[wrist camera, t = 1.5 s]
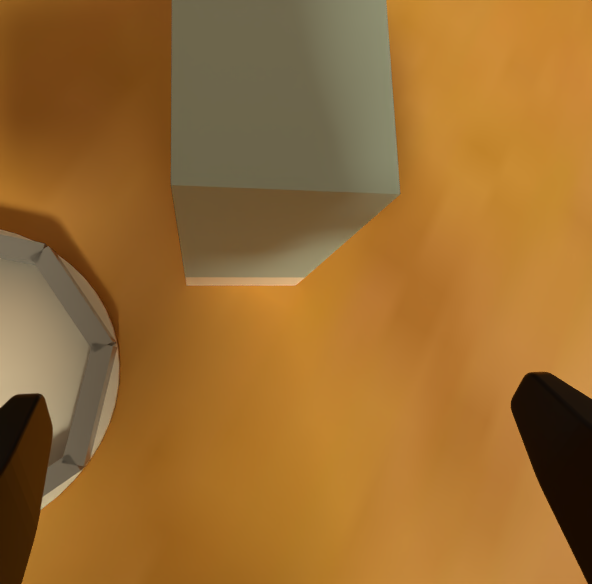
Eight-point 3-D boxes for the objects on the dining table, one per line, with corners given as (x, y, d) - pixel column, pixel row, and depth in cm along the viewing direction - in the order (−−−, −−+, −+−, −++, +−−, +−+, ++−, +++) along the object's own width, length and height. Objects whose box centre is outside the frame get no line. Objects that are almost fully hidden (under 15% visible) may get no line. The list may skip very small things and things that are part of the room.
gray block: (295, 285, 22) (400, 194, 11) (186, 285, 21) (170, 185, 10) (292, 184, 23) (385, -4, 11) (186, 179, 22) (172, -32, 10)
